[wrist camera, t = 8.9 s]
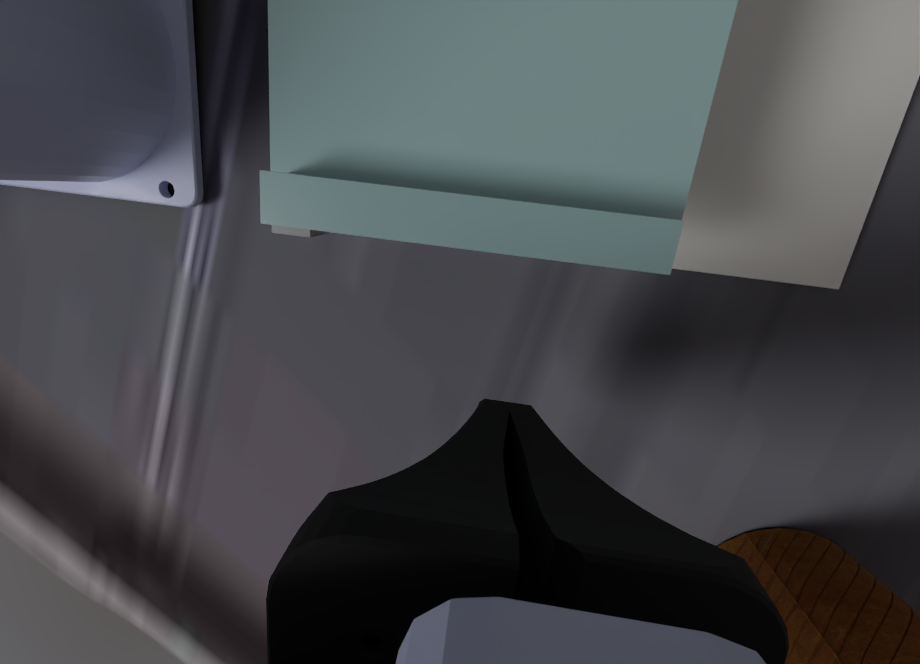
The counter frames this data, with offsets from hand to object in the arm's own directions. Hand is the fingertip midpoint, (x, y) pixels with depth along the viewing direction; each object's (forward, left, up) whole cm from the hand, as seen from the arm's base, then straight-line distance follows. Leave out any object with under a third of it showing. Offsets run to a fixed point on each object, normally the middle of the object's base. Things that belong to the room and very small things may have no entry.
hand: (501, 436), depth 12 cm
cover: (-1, +8, 0) cm, 9 cm away
